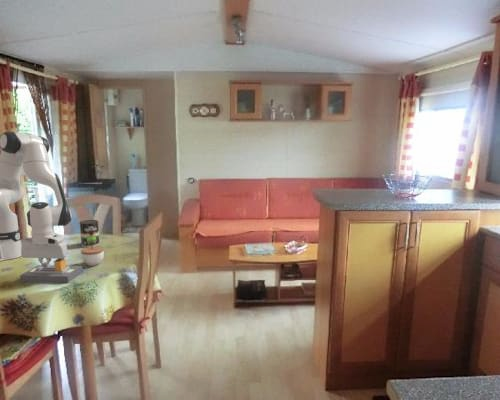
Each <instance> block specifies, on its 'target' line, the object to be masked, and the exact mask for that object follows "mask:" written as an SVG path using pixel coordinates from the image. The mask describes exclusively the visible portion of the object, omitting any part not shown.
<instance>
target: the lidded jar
mask: <svg viewBox="0 0 500 400" xmlns="http://www.w3.org/2000/svg"><path fill="white" fill-rule="evenodd" d="M104 250H105V248H104V247H103V246H99V245H97V246H91V247H84V248H82V249H81V250H80V253H81V258H82V260H83V261H82V262H84V263H85V264H86V265H87V266H90V267H93V266H99V265H100V264H101V262H102V261H103V260H104V257H105V251H104Z"/></svg>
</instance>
